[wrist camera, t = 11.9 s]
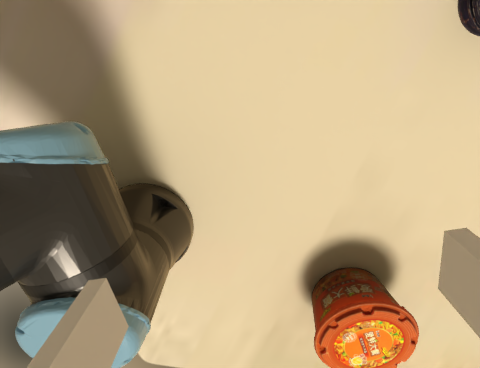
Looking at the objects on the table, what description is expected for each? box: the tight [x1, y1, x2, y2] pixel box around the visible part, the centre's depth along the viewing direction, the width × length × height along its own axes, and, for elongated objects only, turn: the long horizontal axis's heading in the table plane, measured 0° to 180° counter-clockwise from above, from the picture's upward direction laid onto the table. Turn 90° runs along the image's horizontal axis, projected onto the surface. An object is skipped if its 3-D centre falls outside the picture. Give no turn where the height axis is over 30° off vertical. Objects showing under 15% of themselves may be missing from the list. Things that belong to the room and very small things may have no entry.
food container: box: [312, 268, 419, 368], centre depth 49 cm, size 16×16×11 cm
